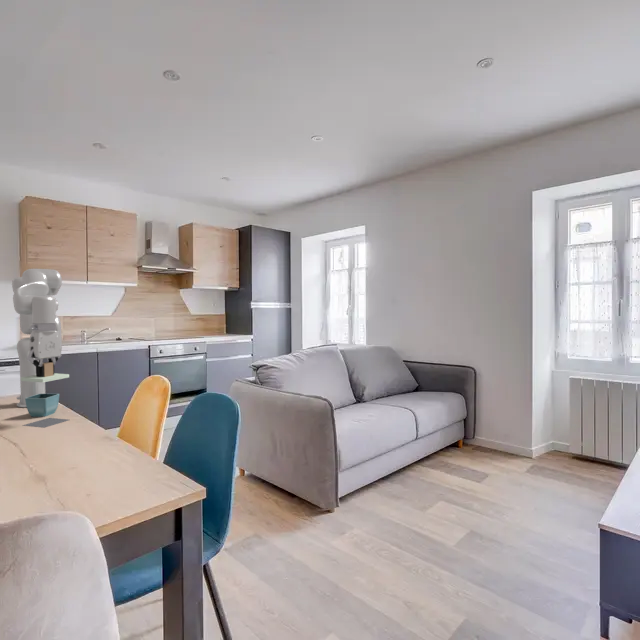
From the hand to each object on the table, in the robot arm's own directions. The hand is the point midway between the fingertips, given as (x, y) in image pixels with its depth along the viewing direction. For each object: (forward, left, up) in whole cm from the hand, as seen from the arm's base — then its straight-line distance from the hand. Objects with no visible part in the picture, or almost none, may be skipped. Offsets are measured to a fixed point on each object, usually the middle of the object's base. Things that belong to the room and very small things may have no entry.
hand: (45, 375), depth 155 cm
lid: (0, 0, -1) cm, 1 cm away
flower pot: (-12, +8, -20) cm, 25 cm away
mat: (0, 0, -19) cm, 19 cm away
